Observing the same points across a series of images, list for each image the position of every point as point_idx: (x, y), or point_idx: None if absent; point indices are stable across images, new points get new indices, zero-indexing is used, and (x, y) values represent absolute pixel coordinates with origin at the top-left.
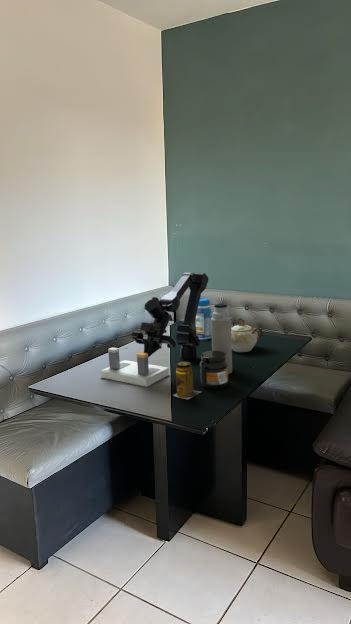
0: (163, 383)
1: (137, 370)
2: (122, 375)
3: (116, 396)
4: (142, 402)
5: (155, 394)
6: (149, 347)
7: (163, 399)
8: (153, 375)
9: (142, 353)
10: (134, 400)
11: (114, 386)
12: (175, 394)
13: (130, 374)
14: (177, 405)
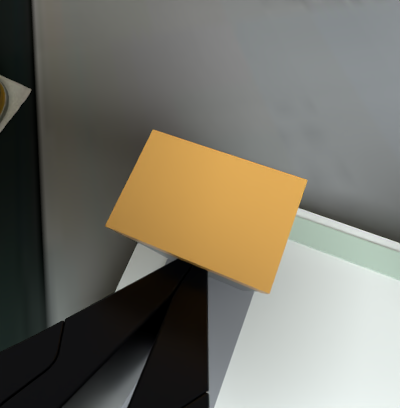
0: (90, 247)
1: (308, 363)
2: (395, 244)
3: (303, 45)
4: (155, 10)
5: (112, 93)
6: (28, 384)
7: (68, 49)
8: (137, 245)
9: (204, 217)
10: (197, 21)
11: (386, 168)
12: (16, 105)
13: (326, 239)
14: (8, 9)
